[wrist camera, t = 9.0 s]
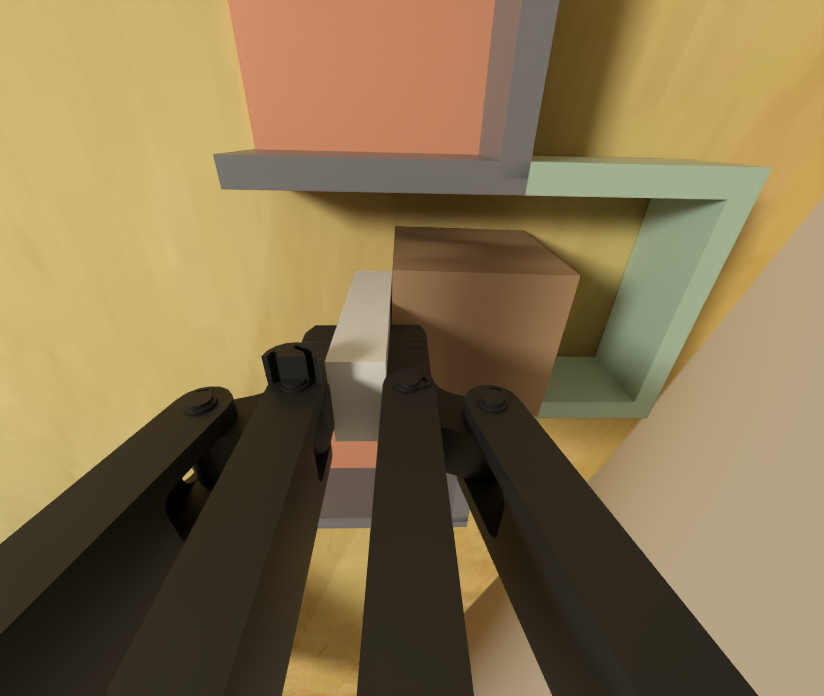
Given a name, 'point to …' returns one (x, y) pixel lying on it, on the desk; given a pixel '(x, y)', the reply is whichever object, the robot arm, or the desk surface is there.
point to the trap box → (473, 173)
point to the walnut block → (483, 306)
